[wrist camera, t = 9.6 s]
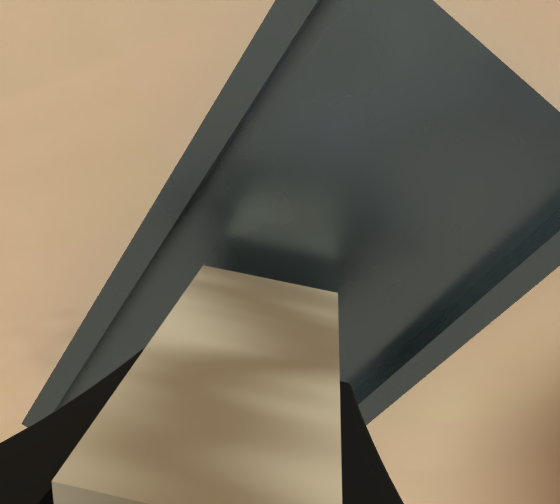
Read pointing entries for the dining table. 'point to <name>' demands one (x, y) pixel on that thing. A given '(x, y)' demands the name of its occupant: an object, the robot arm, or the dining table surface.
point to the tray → (349, 195)
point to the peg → (222, 404)
